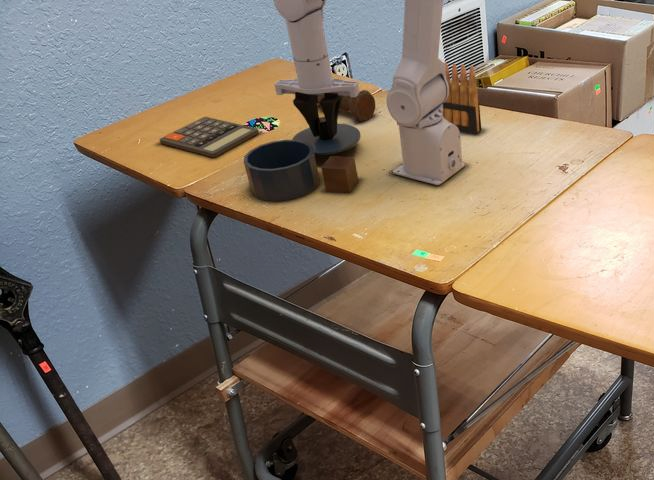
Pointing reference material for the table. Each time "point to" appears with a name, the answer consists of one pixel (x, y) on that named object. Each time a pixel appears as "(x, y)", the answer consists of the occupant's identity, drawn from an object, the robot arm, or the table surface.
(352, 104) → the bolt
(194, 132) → the calculator
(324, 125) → the lid
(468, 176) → the table surface
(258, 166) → the pot
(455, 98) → the ammunition clip
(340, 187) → the block
